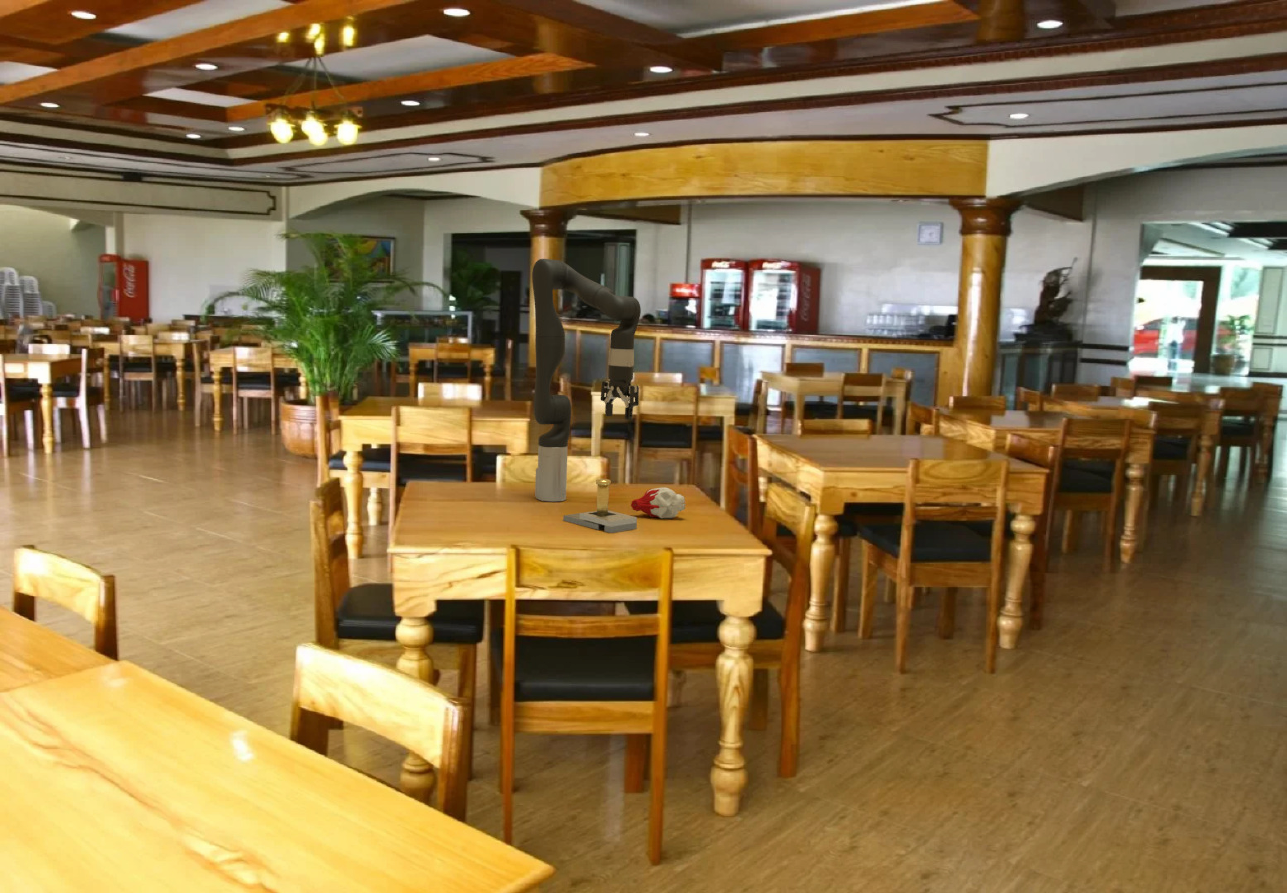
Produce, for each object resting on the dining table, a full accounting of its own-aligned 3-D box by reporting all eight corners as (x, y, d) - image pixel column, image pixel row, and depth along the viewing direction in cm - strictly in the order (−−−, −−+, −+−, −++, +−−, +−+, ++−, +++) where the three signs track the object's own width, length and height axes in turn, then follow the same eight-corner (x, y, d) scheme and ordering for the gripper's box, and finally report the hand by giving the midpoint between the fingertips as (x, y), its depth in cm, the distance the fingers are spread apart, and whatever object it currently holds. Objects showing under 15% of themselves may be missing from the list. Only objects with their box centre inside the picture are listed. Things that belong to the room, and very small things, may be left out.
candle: (687, 518, 318) (638, 525, 315) (675, 510, 329) (628, 517, 325) (684, 488, 317) (635, 495, 313) (673, 481, 327) (626, 488, 324)
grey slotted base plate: (563, 520, 310) (563, 509, 310) (589, 516, 317) (589, 505, 317) (610, 533, 296) (610, 521, 296) (636, 528, 303) (636, 517, 303)
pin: (591, 524, 306) (592, 479, 304) (602, 523, 309) (603, 478, 307) (601, 527, 303) (602, 482, 302) (612, 525, 306) (613, 480, 304)
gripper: (595, 362, 323) (593, 415, 325) (628, 366, 313) (625, 421, 315) (614, 361, 328) (611, 414, 330) (646, 366, 318) (643, 420, 320)
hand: (618, 417), depth 323 cm, fingers open, 8 cm apart
